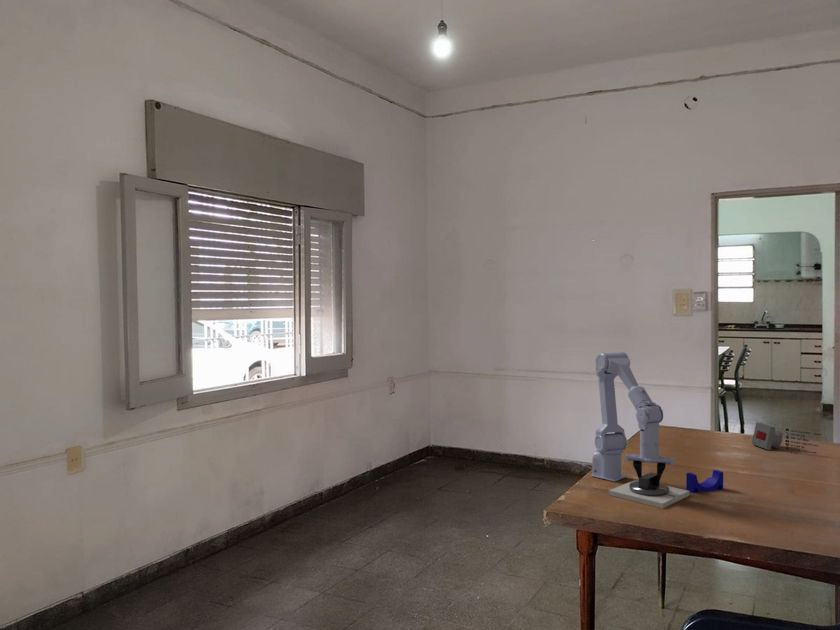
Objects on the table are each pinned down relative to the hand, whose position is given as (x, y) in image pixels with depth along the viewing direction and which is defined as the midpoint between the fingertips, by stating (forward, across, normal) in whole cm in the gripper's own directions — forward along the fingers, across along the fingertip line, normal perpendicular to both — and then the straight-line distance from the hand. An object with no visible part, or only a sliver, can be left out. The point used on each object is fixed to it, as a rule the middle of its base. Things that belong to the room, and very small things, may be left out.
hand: (649, 485), depth 206 cm
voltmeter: (+4, +48, +81) cm, 94 cm away
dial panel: (+3, 0, 0) cm, 3 cm away
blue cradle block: (+4, +16, +13) cm, 21 cm away
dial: (+1, 0, 0) cm, 1 cm away
